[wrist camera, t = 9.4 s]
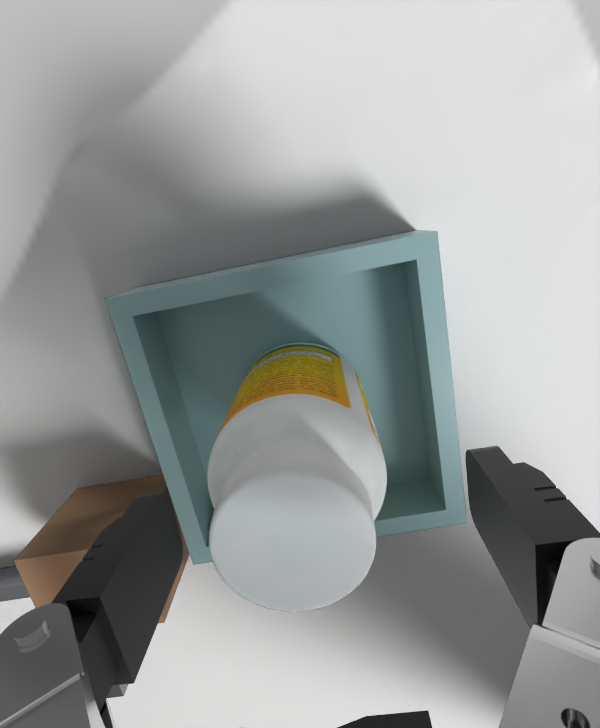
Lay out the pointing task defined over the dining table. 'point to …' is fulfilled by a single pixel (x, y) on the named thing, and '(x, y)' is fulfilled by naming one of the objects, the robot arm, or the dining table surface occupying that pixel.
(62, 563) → the block
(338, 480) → the supplement bottle
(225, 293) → the tray
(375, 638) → the dining table surface
